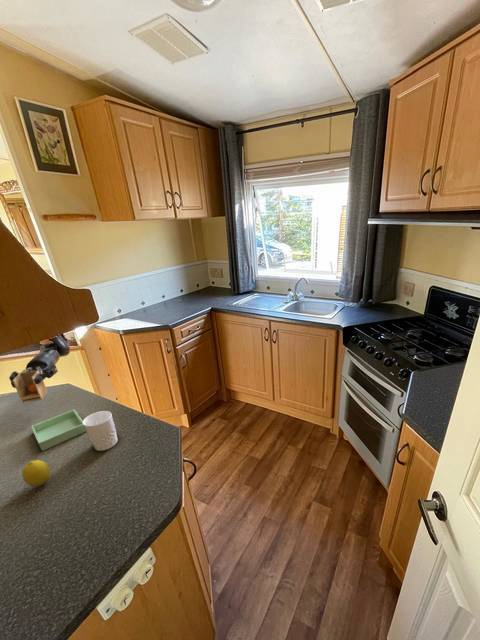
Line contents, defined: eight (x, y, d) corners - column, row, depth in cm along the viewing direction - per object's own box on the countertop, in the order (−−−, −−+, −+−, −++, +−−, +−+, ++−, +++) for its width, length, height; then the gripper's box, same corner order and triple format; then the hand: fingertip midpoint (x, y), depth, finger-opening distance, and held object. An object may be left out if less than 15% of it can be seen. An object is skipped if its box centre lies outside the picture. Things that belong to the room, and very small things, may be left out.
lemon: (58, 481, 80) (47, 458, 76) (35, 495, 76) (23, 473, 72) (48, 473, 83) (37, 451, 79) (25, 487, 78) (13, 465, 75)
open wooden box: (29, 394, 106) (19, 373, 103) (47, 391, 108) (38, 370, 104) (22, 403, 101) (12, 380, 97) (42, 399, 103) (32, 377, 99)
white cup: (91, 455, 88) (80, 429, 84) (93, 440, 95) (84, 415, 91) (119, 447, 91) (110, 421, 87) (120, 433, 98) (112, 408, 94)
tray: (42, 450, 91) (38, 443, 90) (34, 433, 100) (30, 426, 99) (87, 430, 100) (85, 423, 99) (76, 415, 108) (74, 409, 107)
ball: (30, 394, 103) (27, 387, 102) (29, 392, 105) (26, 385, 104) (40, 391, 105) (38, 384, 104) (39, 389, 107) (36, 382, 106)
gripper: (16, 358, 110) (-6, 378, 96) (60, 352, 114) (45, 370, 100) (24, 376, 113) (4, 397, 99) (66, 369, 117) (53, 388, 103)
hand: (25, 383), depth 99 cm, fingers closed on open wooden box, 5 cm apart
